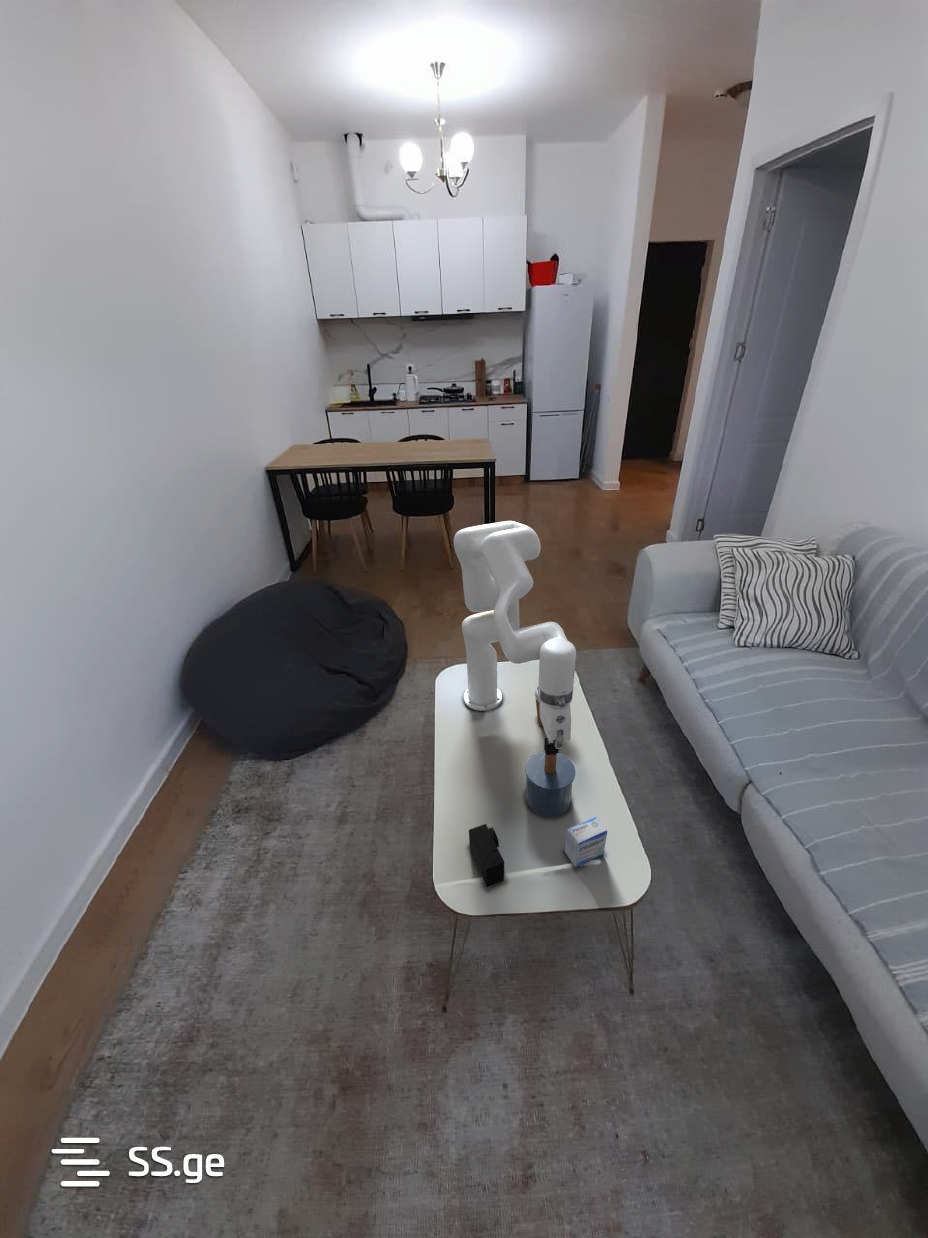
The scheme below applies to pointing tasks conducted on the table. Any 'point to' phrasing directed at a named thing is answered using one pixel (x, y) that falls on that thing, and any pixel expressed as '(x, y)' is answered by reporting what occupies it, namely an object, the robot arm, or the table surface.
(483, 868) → the digital camera
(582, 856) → the medicine box
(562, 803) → the cup
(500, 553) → the robot arm
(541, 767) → the lid
